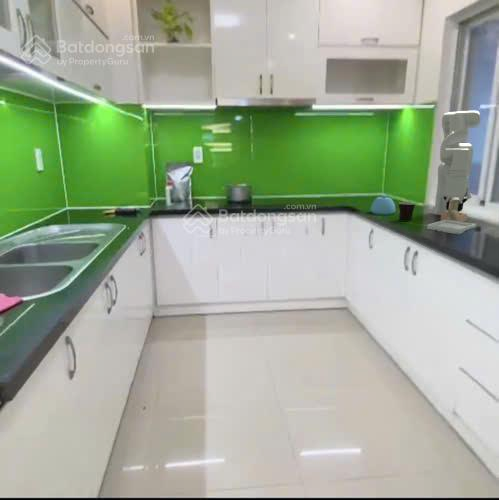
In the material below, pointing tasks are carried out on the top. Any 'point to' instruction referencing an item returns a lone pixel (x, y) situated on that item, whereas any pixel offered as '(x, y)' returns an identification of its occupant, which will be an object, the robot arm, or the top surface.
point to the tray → (451, 226)
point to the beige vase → (453, 209)
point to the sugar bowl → (383, 206)
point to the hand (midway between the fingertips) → (453, 210)
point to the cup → (461, 219)
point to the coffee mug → (406, 211)
